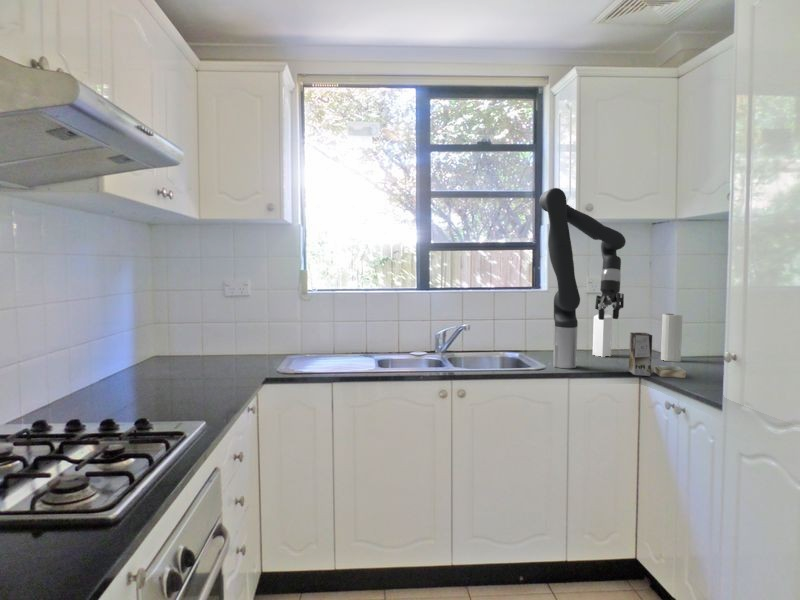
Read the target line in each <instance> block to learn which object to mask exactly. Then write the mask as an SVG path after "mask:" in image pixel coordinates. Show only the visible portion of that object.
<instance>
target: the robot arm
mask: <svg viewBox="0 0 800 600" xmlns="http://www.w3.org/2000/svg"><path fill="white" fill-rule="evenodd" d="M538 203H539V206H540V207H541V209H542V210H543V211H544V212H547V214H548V220H549V231H548V238H547V239H548V240H547V242H548V243H547V245H548V246H547V247H548V255H549V260H550V263H551V266H552V268H553V271H554V274H555V277H556V282H557V289H558V290H557V291H556V292H555V294H554V297H553V320H554V337H553V338H554V341H553V359H552V360H553V363H552V365H553V367H554V368H559V369H575V368H577V364H578V363H577V356H578V353H577V352H578V328H579V327H578V326H579V325H578V324H579V323H578V319H577V314H576V310H577V308H579V307H580V303H581V296H580V295H581V294H580V292H579V288H578V284H577V280H576V276H575V263H574V256H573V255H574V254H573V246H572V240H571V234H570V230H569V229H570V228H569V224H570V225H571V226H573V227H575V228H576V229H578V230H579V231H580V232H582V233H583V234H585V235H587V237H589V238H591V239H592V240H595V241H601V243H600V251H601V257H602V271H601V275H600V276H601V277H600V290H599V291H600V292H601V293H602V294H601V295H599V294H598V295H596V296H595V297H596V298H595V305H594V307H595V308H594V309H595V310H597V311H598V314H599V316H598V318H599V319H600V320H604V312H605V311H604V310H606V309H607V308H608V307H609V306H612V308H613V309H612V320H618V319H619V316H620V310H621V309H623V308H624V304H625V303H624V300H625V299H624V298H625V296H624V295H625V294H624V293H623V292H621V276H622V275H621V274H622V273H621V267H622V259H621V257H620V256H618V255H617V251H618V250H621V249H623V248H624V246H626V244H627V243H626V238H625V236H624V235H623V234H622V233H621V232H619V231H617V230H615V229H613V228H611V227H608V226H606V225H603V224H602V223H601V222H599V221H598V220H597V219H595V218H594V217H592V216H590V215H589V214H586V213H584V212H582V211H579V210H578V209H575V208H573V207H572V206H570V205H569V204H568V203H567V197H566V193H565V192H564V191H563V190H562V189H561V188H557V187H553V188H551V189H548V190H547V191H545V192H543V193H542V194H541V195H540V197H539V201H538Z"/></svg>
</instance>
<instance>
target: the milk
mask: <svg viewBox="0 0 800 600" xmlns="http://www.w3.org/2000/svg"><path fill="white" fill-rule="evenodd" d="M604 311H605V312H604V320H600V319H599V318H598V316H599V313H597V314H596V315H594V316H593V321H592V322H593V328H592V329H593V330H592V356H593V355H595V356H594V357H598V356H601V357H600V358H606V357H605V356H609V357H612V342H613V341H612V339H613V338H612V335H613V334H612V333H613V315H610V313H608V310H607V309H605V310H604Z"/></svg>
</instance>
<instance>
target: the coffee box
mask: <svg viewBox="0 0 800 600" xmlns="http://www.w3.org/2000/svg"><path fill="white" fill-rule="evenodd" d="M652 349H653V335H652V334H650V333H647V332H629V357H628V358H629V359H628V360H629V361H628V371H629V372H630V373H631V374H632V375H634V376H645V377H646V376H647V377H650V376H651V374H652V373H651V371H652V353H653V352H652V351H653V350H652Z"/></svg>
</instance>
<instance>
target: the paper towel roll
mask: <svg viewBox="0 0 800 600" xmlns="http://www.w3.org/2000/svg"><path fill="white" fill-rule="evenodd" d="M661 318H662V322H661V324H662V325H661V339H660V340H661V342H660V343H661V345H660V346H661V347H660V360H661V361H663V360H664V361H665V362H678V363H679V362H680V363H681V362H682V361H681V359H682V357H681V356H682V336H683V335H682V334H683V333H682V332H683V315H682V314H675V313H662V317H661Z"/></svg>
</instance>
